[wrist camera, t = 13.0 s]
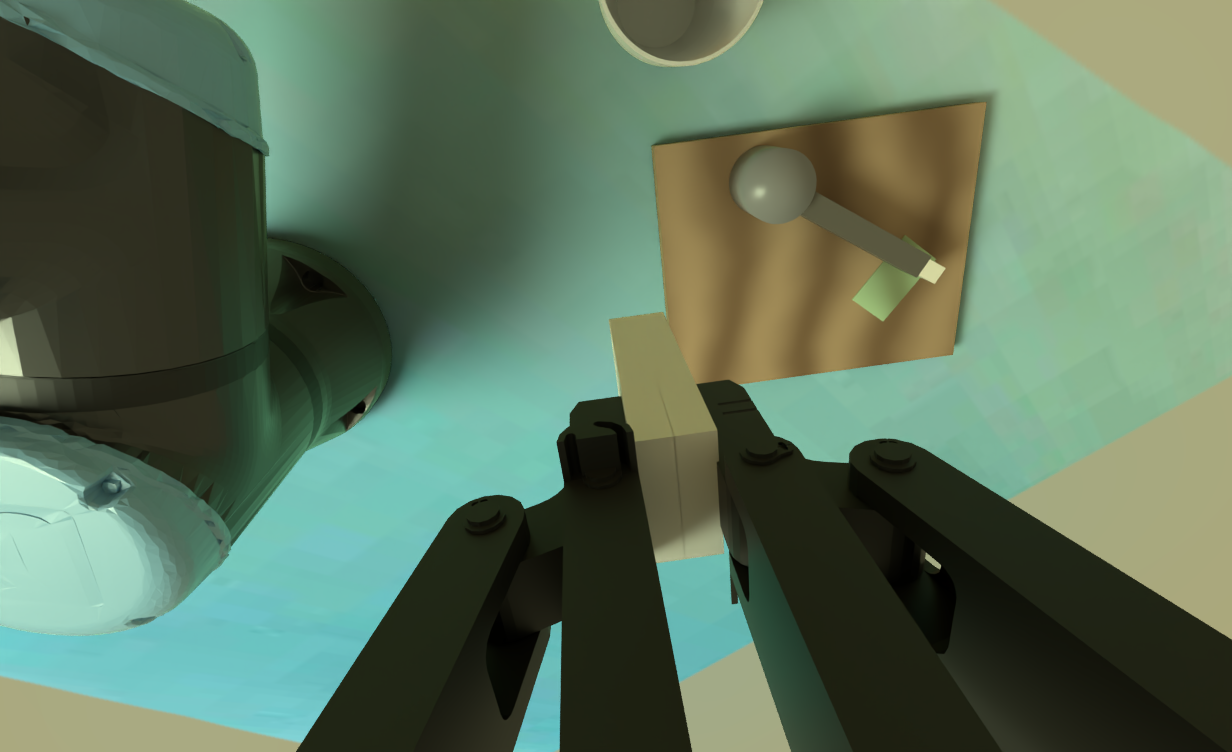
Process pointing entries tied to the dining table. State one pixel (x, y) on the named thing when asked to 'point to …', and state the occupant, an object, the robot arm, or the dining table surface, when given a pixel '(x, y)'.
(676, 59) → the cup
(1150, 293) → the dining table surface
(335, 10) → the dining table surface
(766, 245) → the board
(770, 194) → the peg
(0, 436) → the robot arm
